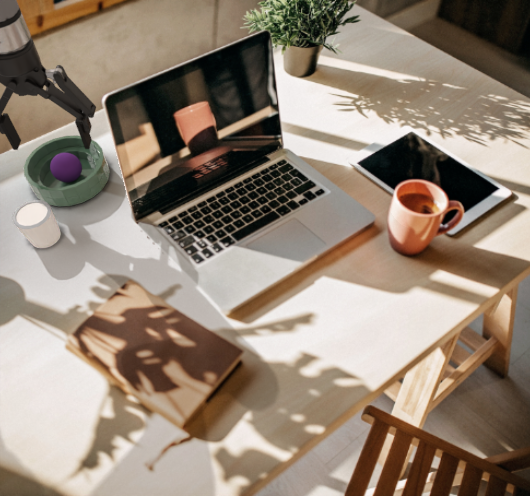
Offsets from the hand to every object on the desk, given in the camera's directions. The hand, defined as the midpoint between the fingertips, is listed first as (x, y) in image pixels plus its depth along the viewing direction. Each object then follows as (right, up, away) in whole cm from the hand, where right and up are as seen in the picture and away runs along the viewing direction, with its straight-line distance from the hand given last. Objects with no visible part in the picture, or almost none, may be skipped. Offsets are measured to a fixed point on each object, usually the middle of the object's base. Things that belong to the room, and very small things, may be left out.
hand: (53, 144), depth 95 cm
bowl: (+1, -6, +8) cm, 10 cm away
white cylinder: (-1, -18, -1) cm, 18 cm away
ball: (+1, -4, +5) cm, 6 cm away
